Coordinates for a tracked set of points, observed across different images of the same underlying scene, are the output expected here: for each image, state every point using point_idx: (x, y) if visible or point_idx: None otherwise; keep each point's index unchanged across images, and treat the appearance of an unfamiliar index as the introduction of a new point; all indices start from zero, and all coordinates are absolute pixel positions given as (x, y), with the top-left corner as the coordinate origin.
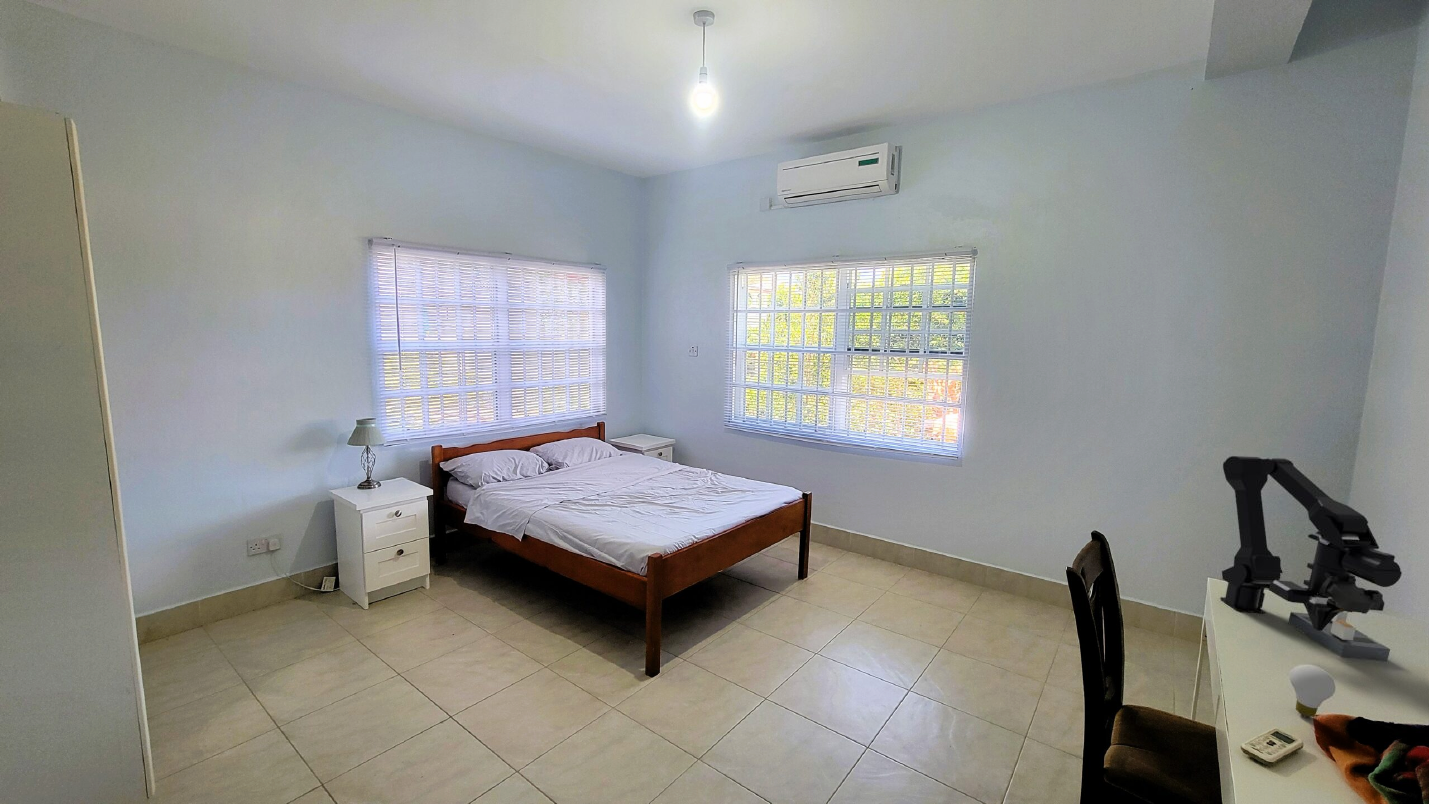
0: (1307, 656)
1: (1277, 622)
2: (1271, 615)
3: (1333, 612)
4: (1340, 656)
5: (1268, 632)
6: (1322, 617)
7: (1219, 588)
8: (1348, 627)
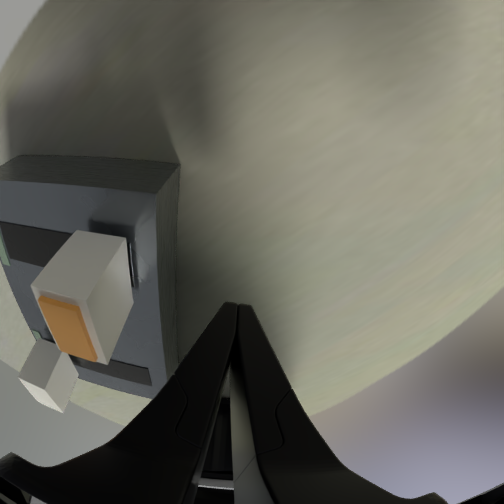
0: (373, 166)
1: None
2: None
3: (172, 451)
4: (179, 166)
5: (325, 328)
6: (261, 397)
7: None
8: (68, 294)
